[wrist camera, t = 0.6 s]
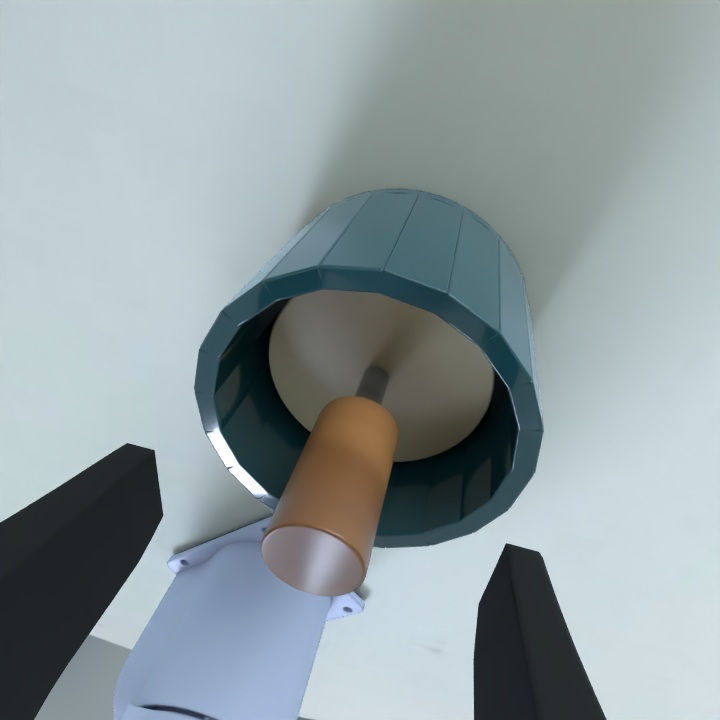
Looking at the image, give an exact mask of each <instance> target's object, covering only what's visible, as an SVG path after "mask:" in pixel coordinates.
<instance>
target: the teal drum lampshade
mask: <svg viewBox="0 0 720 720" xmlns="http://www.w3.org/2000/svg"><path fill="white" fill-rule="evenodd" d="M321 290H340V291H355V292H370V293H380V294H382V295H385V296H388V297H391V298H393V299H396V300H399V301H401V302H404V303H407V304H410V305H412V306H415V307H418V308H420V309H423V310H426V311H429V312H431V313H434V314H436V315H437V316H439V317H440V318H441V319H443V320H444V321H445V322H447V323H448V324H449V325H451V326H452V327H453V328H455V329H456V330H457V331H459V332H460V333H461V334H463V335H464V336H465V337H467V338H468V339H469V340H471V341H472V342H473V343H475V344H476V345H477V346H478V347H479V348H480V349H481V351H482V352H483V354H484V355H485V357H486V358H487V359H488V361H489V362H490V364H491V365H492V367H493V368H494V369H495V381H494V391H493V395H492V399H491V402H490V405H489V407H488V409H487V411H486V414H485V415H484V417H483V418H482V420H481V421H480V423H479V424H478V425H477V427H476V428H475V429H474V430H473V431H472V432H471V433H470V434H469V435H468V436H467V437H466V438H465V439H463V440H462V441H461V442H460V443H458V444H457V445H455V446H453V447H452V448H450V449H448V450H446V451H444V452H442V453H440V454H437V455H434V456H431V457H428V458H424V459H419V460H414V461H404V462H393V465H392V469H391V473H390V477H389V481H388V486H387V490H386V494H385V498H384V502H383V506H382V511H381V515H380V519H379V523H378V527H377V531H376V536H375V540H374V544H373V547H379V548H385V547H386V548H400V547H421V546H430V545H436V544H439V543H442V542H446V541H449V540H452V539H456V538H459V537H462V536H466V535H469V534H472V532H473V533H475V532H476V531H478V530H479V529H481V528H482V527H484V526H485V525H487V524H488V523H490V522H491V521H493V520H494V519H496V518H497V517H499V516H500V515H502V514H503V513H505V512H506V511H508V509H509V508H510V507H511V506H512V505H513V503H514V502H515V500H516V499H517V498H518V496H519V495H520V493H521V492H522V491H523V489H524V488H525V486H526V485H527V484H528V482H529V481H530V479H531V478H532V477H533V475H534V473H535V471H536V466H537V461H538V456H539V452H540V447H541V442H542V437H543V432H544V429H543V427H544V426H543V417H542V409H541V400H540V392H539V383H538V375H537V366H536V357H535V349H534V340H533V332H532V323H531V315H530V309H529V304H528V299H527V293H526V288H525V283H524V279H523V276H522V273H521V271H520V268H519V265H518V263H517V262H516V260H515V258H514V256H513V254H512V252H511V250H510V249H509V248H508V246H507V245H506V244H505V242H504V241H503V239H502V238H501V237H500V236H499V235H498V234H497V233H496V232H495V230H494V229H493V228H492V227H491V226H490V225H489V224H488V223H486V222H485V221H484V220H483V219H481V218H480V217H479V216H477V215H476V214H475V213H473V212H472V211H470V210H468V209H467V208H465V207H463V206H461V205H460V204H458V203H456V202H454V201H451V200H449V199H446V198H444V197H441V196H439V195H435V194H431V193H427V192H423V191H417V190H409V189H381V190H375V191H368V192H364V193H361V194H357V195H354V196H351V197H348V198H346V199H344V200H342V201H339V202H337V203H335V204H333V205H332V206H330V207H329V208H327V209H326V210H324V211H323V212H321V213H320V214H319V215H318V216H316V217H315V218H314V219H313V220H312V221H311V222H310V223H308V224H307V225H306V226H304V227H303V228H302V229H301V230H300V231H299V232H298V233H297V234H296V235H295V236H294V237H293V238H292V239H291V240H290V241H289V242H288V243H287V244H286V245H285V246H284V247H283V248H282V249H281V250H280V251H279V252H278V253H277V254H276V255H275V256H274V257H273V258H272V259H271V260H270V261H269V262H268V263H267V264H266V265H265V266H264V267H263V268H262V269H261V270H260V271H259V272H258V273H257V275H256V276H255V277H254V278H253V279H252V280H251V281H250V282H249V283H248V284H247V285H246V286H245V287H244V288H243V289H242V290H241V291H240V292H239V293H238V294H237V295H236V296H235V297H234V298H233V299H232V300H231V301H230V302H229V303H228V304H227V305H226V306H225V307H224V308H223V309H222V310H221V312H220V313H219V315H218V317H217V319H216V320H215V322H214V324H213V325H212V327H211V329H210V330H209V332H208V334H207V335H206V337H205V339H204V341H203V342H202V344H201V346H200V349H199V353H198V362H197V370H196V378H195V386H194V390H195V396H196V400H197V404H198V408H199V412H200V416H201V420H202V424H203V428H204V430H205V433H206V435H207V437H208V438H209V440H210V442H211V443H212V445H213V447H214V448H215V450H216V452H217V453H218V455H219V457H220V458H221V460H222V462H223V463H224V465H225V467H227V469H228V470H229V471H230V472H231V473H232V474H233V475H234V476H235V477H236V478H237V479H238V480H239V481H240V482H241V483H242V484H243V485H244V486H245V487H246V488H247V489H248V490H249V491H250V492H251V493H252V494H253V495H254V496H255V497H256V498H257V499H259V500H260V501H261V502H263V503H264V504H266V505H267V506H269V507H270V508H272V509H274V510H275V509H276V507H277V505H278V503H279V501H280V498H281V496H282V494H283V492H284V490H285V488H286V485H287V483H288V481H289V479H290V477H291V475H292V472H293V470H294V468H295V466H296V464H297V462H298V459H299V457H300V455H301V453H302V451H303V449H304V446H305V444H306V442H307V440H308V438H309V436H310V433H311V432H310V431H308V430H307V429H306V428H305V427H304V426H303V425H302V424H301V423H300V422H299V421H298V420H297V419H296V418H295V417H294V416H293V415H292V413H291V412H290V411H289V410H288V408H287V407H286V405H285V404H284V402H283V401H282V399H281V397H280V395H279V393H278V391H277V389H276V387H275V384H274V381H273V378H272V375H271V370H270V365H269V342H270V336H271V332H272V329H273V325H274V323H275V321H276V319H277V316H278V314H279V313H280V311H281V310H282V308H283V307H284V305H285V304H286V303H287V301H288V300H289V299H290V298H292V297H296V296H300V295H304V294H309V293H313V292H317V291H321Z"/></svg>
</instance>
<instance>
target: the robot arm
mask: <svg viewBox="0 0 720 720" xmlns="http://www.w3.org/2000/svg"><path fill="white" fill-rule="evenodd" d="M162 517H163V510H162V503H161V495H160V488H159V481H158V473H157V466H156V458H155V451H154V450H151V449H148V448H144V447H140V446H136V445H132V444H129V443H127V444H125V445H124V446H122V447H120V448H119V449H117V450H115V451H114V452H112V453H111V454H109V455H107V456H106V457H104V458H103V459H101V460H100V461H98V462H96V463H95V464H93V465H92V466H90V467H89V468H87V469H86V470H84V471H82V472H81V473H79V474H78V475H76V476H75V477H73V478H72V479H70V480H68V481H67V482H65V483H64V484H62V485H61V486H59V487H58V488H56V489H54V490H53V491H51V492H50V493H48V494H46V495H45V496H43V497H41V498H40V499H38V500H37V501H35V502H33V503H32V504H30V505H29V506H27V507H25V508H24V509H22V510H20V511H19V512H17V513H16V514H14V515H12V516H11V517H9V518H7V519H6V520H4V521H2V522H1V523H0V720H34V719H35V717H36V715H37V713H38V712H39V710H40V708H41V707H42V705H43V703H44V701H45V699H46V698H47V696H48V694H49V693H50V691H51V689H52V688H53V686H54V685H55V683H56V682H57V680H58V679H59V677H60V675H61V674H62V672H63V671H64V669H65V668H66V666H67V665H68V663H69V662H70V660H71V659H72V658H73V656H74V655H75V653H76V652H77V650H78V649H79V648H80V646H81V645H82V643H83V642H84V640H85V639H86V637H87V636H88V635H89V633H90V632H91V630H92V629H93V627H94V626H95V625H96V623H97V622H98V620H99V619H100V617H101V616H102V615H103V613H104V612H105V610H106V609H107V607H108V606H109V605H110V603H111V602H112V600H113V599H114V597H115V596H116V594H117V593H118V592H119V590H120V589H121V587H122V586H123V584H124V583H125V581H126V580H127V578H128V577H129V576H130V574H131V573H132V571H133V570H134V568H135V567H136V565H137V564H138V562H139V560H140V559H141V557H142V555H143V553H144V551H145V550H146V548H147V546H148V544H149V542H150V541H151V539H152V537H153V535H154V533H155V531H156V529H157V527H158V525H159V523H160V521H161V519H162ZM271 518H272V517H268V518H266V519H263V520H261V521H258V522H256V523H253V524H251V525H248V526H246V527H243V528H241V529H238V530H236V531H233V532H231V533H228V534H226V535H224V536H221V537H219V538H216V539H214V540H211V541H209V542H206V543H204V544H201V545H199V546H196V547H194V548H191V549H189V550H186V551H184V552H181V553H179V554H177V555H174V556H172V557H170V558H169V560H168V562H167V565H168V567H169V568H170V569H171V570H172V571H173V572H174V573H176V574H177V575H176V576H175V578H174V580H173V582H172V583H171V585H170V587H169V588H168V590H167V592H166V593H165V595H164V597H163V599H162V600H161V602H160V604H159V605H158V607H157V609H156V610H155V612H154V614H153V616H152V617H151V619H150V621H149V622H148V624H147V626H146V627H145V629H144V631H143V633H142V634H141V636H140V638H139V639H138V641H137V643H136V644H135V646H134V648H133V650H132V651H131V653H130V655H129V656H128V658H127V660H126V661H125V663H124V665H123V668H122V669H121V672H120V674H119V677H118V680H117V683H116V687H115V693H114V703H113V714H114V720H297V718H298V715H299V711H300V708H301V704H302V701H303V697H304V694H305V690H306V687H307V683H308V680H309V677H310V673H311V670H312V666H313V663H314V659H315V656H316V652H317V649H318V646H319V642H320V639H321V635H322V632H323V628H324V625H325V621H328V620H332V619H336V618H340V617H344V616H348V615H352V614H356V613H360V612H362V611H363V609H364V605H365V604H364V602H363V600H362V599H361V598H360V597H359V596H358V595H357V594H356V593H355V592H354V591H353V592H351V593H348V594H345V595H341V596H318V595H313V594H309V593H306V592H303V591H300V590H298V589H295V588H293V587H291V586H289V585H288V584H286V583H284V582H283V581H282V580H280V579H279V578H278V577H276V576H275V575H274V574H273V573H272V572H271V571H270V570H269V568H268V567H267V566H266V564H265V562H264V560H263V558H262V555H261V547H260V546H261V540H262V537H263V535H264V533H265V531H266V529H267V527H268V524H269V522H270V520H271ZM474 720H606V717H605V715H604V713H603V711H602V708H601V706H600V704H599V702H598V700H597V697H596V695H595V693H594V690H593V688H592V686H591V683H590V681H589V679H588V676H587V674H586V672H585V669H584V667H583V665H582V662H581V660H580V657H579V655H578V653H577V650H576V648H575V645H574V643H573V640H572V638H571V635H570V633H569V630H568V628H567V625H566V622H565V620H564V617H563V614H562V612H561V609H560V606H559V604H558V601H557V598H556V595H555V593H554V590H553V587H552V584H551V581H550V578H549V575H548V572H547V569H546V566H545V563H544V560H543V557H542V556H541V554H540V553H539V552H537V551H534V550H530V549H526V548H522V547H518V546H515V545H511V544H507V543H506V545H505V547H504V549H503V552H502V554H501V556H500V558H499V560H498V563H497V565H496V567H495V569H494V571H493V574H492V576H491V578H490V580H489V582H488V585H487V587H486V589H485V591H484V593H483V596H482V598H481V600H480V602H479V607H478V617H477V627H476V638H475V649H474Z"/></svg>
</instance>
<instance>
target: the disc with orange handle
mask: <svg viewBox="0 0 720 720" xmlns="http://www.w3.org/2000/svg"><path fill="white" fill-rule="evenodd" d="M269 365H270V370H271V375H272V378H273V381H274V384H275V387H276V389H277V391H278V393H279V395H280V397H281V399H282V401H283V402H284V404H285V405H286V407H287V408H288V410H289V411H290V412H291V413H292V415H293V416H294V417H295V418H296V419H297V420H298V421H299V422H300V423H301V424H302V425H303V426H304V427H305V428H306V429H307V430H308V431H310V432H311V433H310V436H309V438H308V440H307V442H306V444H305V446H304V449H303V451H302V453H301V455H300V457H299V459H298V462H297V464H296V466H295V468H294V470H293V472H292V475H291V477H290V479H289V481H288V483H287V485H286V488H285V490H284V492H283V494H282V496H281V498H280V501H279V503H278V505H277V507H276V509H275V511H274V514H273V516H272V518H271V520H270V522H269V524H268V527H267V529H266V531H265V533H264V535H263V537H262V540H261V546H260V547H261V555H262V558H263V560H264V562H265V564H266V566H267V567H268V568H269V570H270V571H271V572H272V573H273V574H274V575H275V576H276V577H278V578H279V579H280V580H282V581H283V582H284V583H286V584H288V585H289V586H291V587H293V588H295V589H298V590H300V591H303V592H306V593H309V594H313V595H318V596H341V595H345V594H348V593H351V592H353V591H355V590H356V589H357V588H358V587H359V586H360V585H361V584H362V583H363V581H364V579H365V577H366V573H367V569H368V565H369V561H370V556H371V552H372V548H373V544H374V540H375V536H376V531H377V527H378V523H379V519H380V515H381V511H382V506H383V502H384V498H385V494H386V490H387V486H388V481H389V477H390V473H391V469H392V465H393V462H404V461H414V460H419V459H424V458H428V457H431V456H434V455H437V454H440V453H442V452H444V451H446V450H448V449H450V448H452V447H453V446H455V445H457V444H458V443H460V442H461V441H462V440H463V439H465V438H466V437H467V436H468V435H469V434H470V433H471V432H472V431H473V430H474V429H475V428H476V427H477V425H478V424H479V423H480V421H481V420H482V418H483V417H484V415H485V414H486V411H487V409H488V407H489V405H490V402H491V399H492V395H493V391H494V381H495V369H494V368H493V367H492V365H491V364H490V362H489V361H488V359H487V358H486V357H485V355H484V354H483V352H482V351H481V349H480V348H479V347H478V346H477V345H476V344H475V343H473V342H472V341H471V340H469V339H468V338H467V337H465V336H464V335H463V334H461V333H460V332H459V331H457V330H456V329H455V328H453V327H452V326H451V325H449V324H448V323H447V322H445V321H444V320H443V319H441V318H440V317H439V316H437V315H436V314H434V313H431V312H429V311H426V310H423V309H420V308H418V307H415V306H412V305H410V304H407V303H404V302H401V301H399V300H396V299H393V298H391V297H388V296H385V295H382V294H380V293H370V292H355V291H340V290H321V291H317V292H313V293H309V294H304V295H300V296H296V297H292V298H290V299H289V300H288V301H287V303H286V304H285V305H284V307H283V308H282V310H281V311H280V313H279V314H278V316H277V319H276V321H275V323H274V325H273V329H272V332H271V336H270V342H269Z"/></svg>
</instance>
